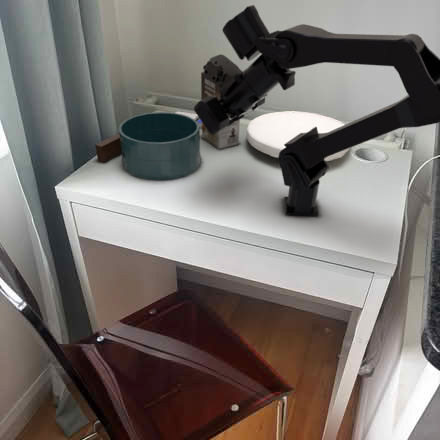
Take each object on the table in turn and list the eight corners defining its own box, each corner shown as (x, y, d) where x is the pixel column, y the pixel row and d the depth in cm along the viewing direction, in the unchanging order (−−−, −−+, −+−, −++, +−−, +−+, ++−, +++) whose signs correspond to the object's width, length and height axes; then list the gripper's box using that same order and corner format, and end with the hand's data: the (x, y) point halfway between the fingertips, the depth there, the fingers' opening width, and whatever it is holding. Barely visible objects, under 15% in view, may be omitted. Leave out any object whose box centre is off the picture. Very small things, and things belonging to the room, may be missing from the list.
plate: (245, 106, 123) (343, 109, 123) (244, 130, 127) (339, 133, 127) (249, 137, 100) (369, 140, 100) (247, 165, 104) (363, 169, 104)
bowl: (196, 181, 101) (196, 144, 95) (116, 178, 101) (110, 142, 96) (202, 147, 114) (202, 113, 109) (131, 145, 115) (127, 111, 109)
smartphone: (200, 114, 129) (179, 133, 118) (200, 116, 130) (180, 135, 119) (176, 110, 131) (154, 129, 120) (176, 113, 131) (154, 131, 121)
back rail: (147, 139, 117) (146, 124, 114) (104, 162, 107) (101, 146, 104) (141, 138, 118) (139, 122, 115) (97, 160, 108) (95, 144, 105)
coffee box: (200, 136, 119) (199, 71, 108) (220, 132, 122) (222, 67, 111) (219, 149, 113) (220, 82, 103) (240, 144, 116) (243, 77, 105)
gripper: (256, 32, 88) (208, 82, 100) (202, 53, 76) (155, 106, 88) (288, 83, 90) (238, 125, 102) (240, 111, 78) (189, 155, 90)
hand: (206, 127), depth 95 cm, fingers closed
